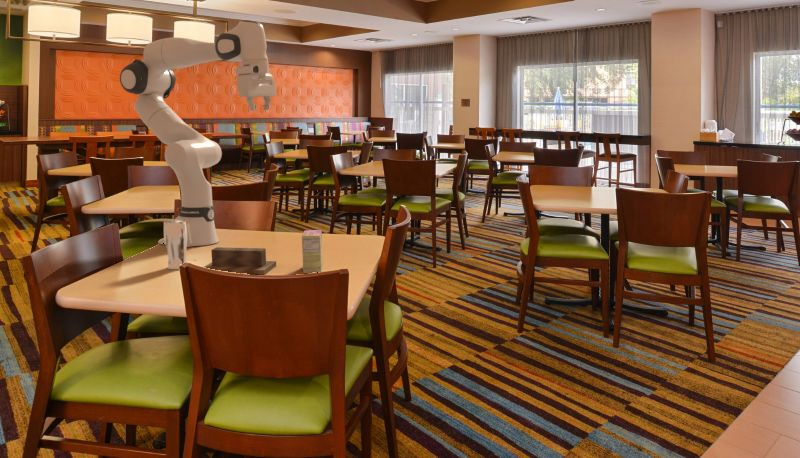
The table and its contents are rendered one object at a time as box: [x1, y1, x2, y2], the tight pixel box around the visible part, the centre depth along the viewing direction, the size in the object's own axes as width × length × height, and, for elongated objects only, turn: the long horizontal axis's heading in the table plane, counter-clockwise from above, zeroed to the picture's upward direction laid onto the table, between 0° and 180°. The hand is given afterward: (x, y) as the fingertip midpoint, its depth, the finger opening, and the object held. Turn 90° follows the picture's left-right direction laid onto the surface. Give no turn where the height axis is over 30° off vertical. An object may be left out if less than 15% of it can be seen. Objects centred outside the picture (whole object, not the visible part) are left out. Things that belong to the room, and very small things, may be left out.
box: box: [301, 229, 324, 274], centre depth 192 cm, size 10×6×12 cm, turn 5°
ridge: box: [203, 246, 277, 276], centre depth 192 cm, size 20×12×6 cm, turn 84°
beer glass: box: [163, 219, 188, 271], centre depth 194 cm, size 7×7×15 cm
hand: (260, 110), depth 214 cm, fingers open, 8 cm apart
